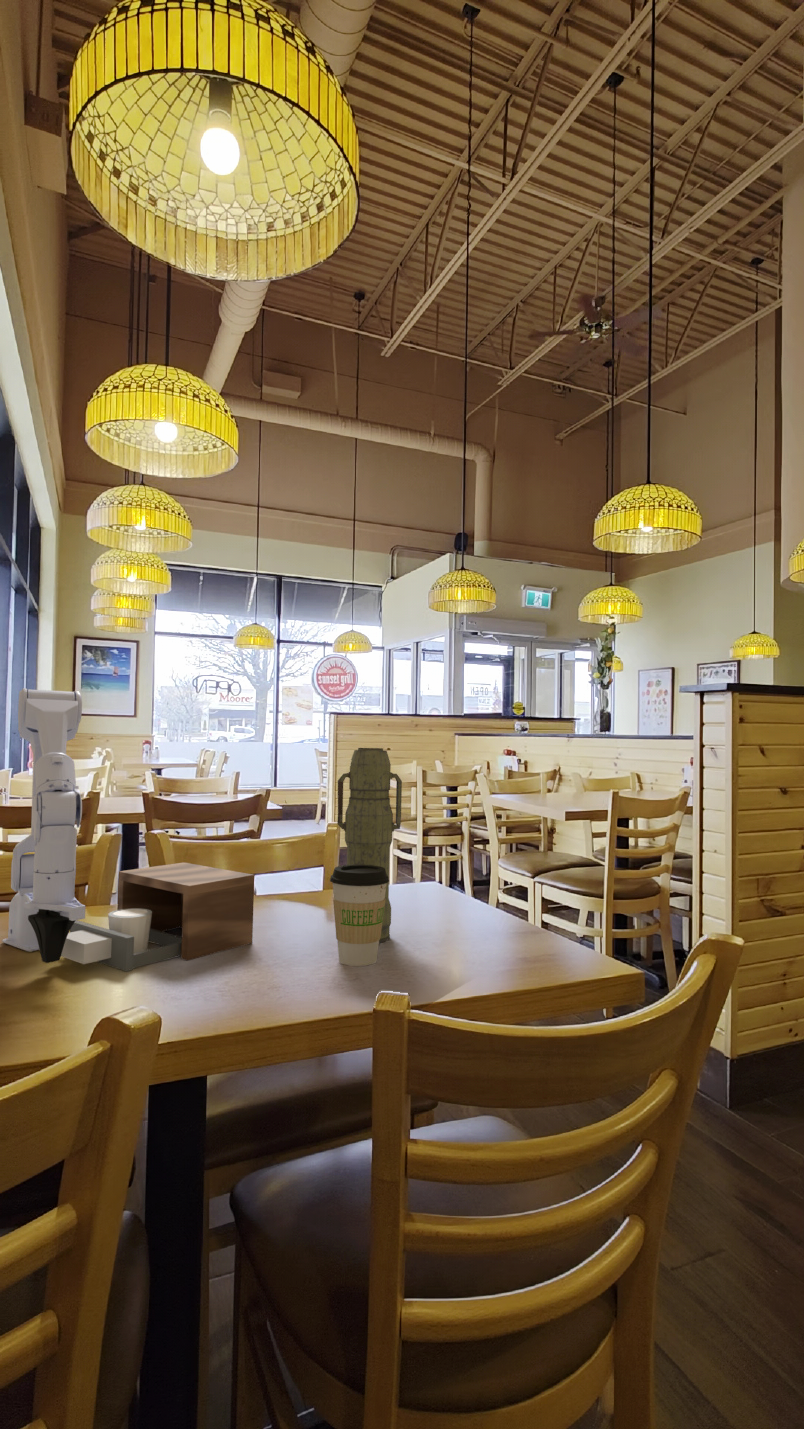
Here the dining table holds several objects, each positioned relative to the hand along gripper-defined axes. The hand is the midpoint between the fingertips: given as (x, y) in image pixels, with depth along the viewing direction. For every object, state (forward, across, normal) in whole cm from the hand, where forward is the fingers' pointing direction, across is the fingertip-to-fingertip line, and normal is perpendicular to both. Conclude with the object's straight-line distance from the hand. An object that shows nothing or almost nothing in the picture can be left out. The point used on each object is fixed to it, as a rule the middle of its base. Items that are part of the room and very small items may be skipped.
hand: (51, 960), depth 110 cm
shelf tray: (+2, 0, +12) cm, 12 cm away
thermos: (+2, +23, +47) cm, 53 cm away
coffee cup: (+2, +31, +35) cm, 47 cm away
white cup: (+2, 0, +13) cm, 13 cm away
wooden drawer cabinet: (+2, 0, +24) cm, 24 cm away
